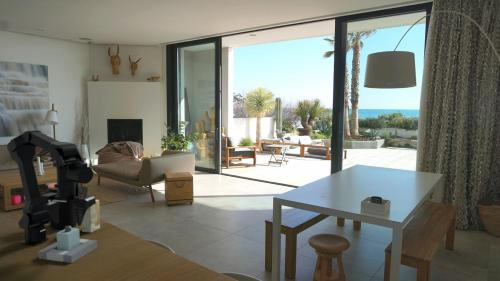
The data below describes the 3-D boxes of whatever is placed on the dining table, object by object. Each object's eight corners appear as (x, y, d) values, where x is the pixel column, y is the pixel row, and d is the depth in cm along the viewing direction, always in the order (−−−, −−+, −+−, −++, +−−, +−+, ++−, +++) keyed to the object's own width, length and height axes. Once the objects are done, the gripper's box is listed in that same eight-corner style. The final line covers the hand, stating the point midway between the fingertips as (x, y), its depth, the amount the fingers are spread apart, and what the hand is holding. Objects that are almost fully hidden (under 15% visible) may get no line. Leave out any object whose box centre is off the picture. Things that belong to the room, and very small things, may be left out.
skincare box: (91, 233, 141) (90, 203, 140) (81, 232, 142) (80, 202, 141) (100, 227, 147) (100, 199, 146) (91, 226, 148) (90, 198, 147)
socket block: (38, 258, 118) (38, 251, 118) (66, 243, 130) (66, 237, 130) (71, 263, 115) (71, 255, 115) (97, 247, 128) (97, 240, 127)
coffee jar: (56, 221, 153) (54, 181, 151) (81, 221, 155) (80, 181, 153) (45, 230, 143) (42, 187, 141) (72, 230, 144) (70, 187, 142)
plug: (57, 255, 121) (56, 228, 120) (69, 248, 126) (68, 223, 125) (68, 256, 120) (67, 230, 119) (80, 250, 125) (79, 224, 124)
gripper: (105, 177, 126) (106, 219, 127) (60, 174, 130) (62, 214, 131) (83, 183, 115) (85, 229, 116) (36, 180, 119) (38, 224, 121)
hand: (68, 224), depth 122 cm, fingers open, 9 cm apart
